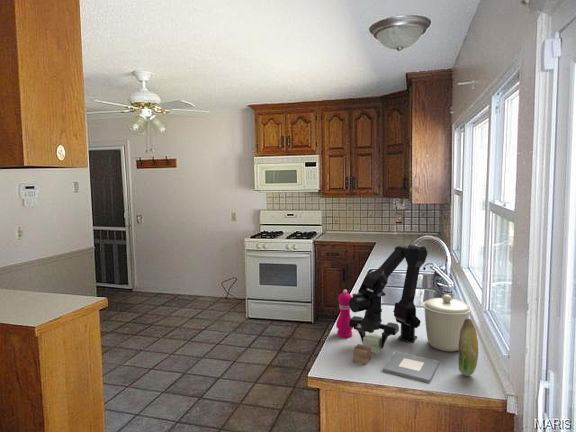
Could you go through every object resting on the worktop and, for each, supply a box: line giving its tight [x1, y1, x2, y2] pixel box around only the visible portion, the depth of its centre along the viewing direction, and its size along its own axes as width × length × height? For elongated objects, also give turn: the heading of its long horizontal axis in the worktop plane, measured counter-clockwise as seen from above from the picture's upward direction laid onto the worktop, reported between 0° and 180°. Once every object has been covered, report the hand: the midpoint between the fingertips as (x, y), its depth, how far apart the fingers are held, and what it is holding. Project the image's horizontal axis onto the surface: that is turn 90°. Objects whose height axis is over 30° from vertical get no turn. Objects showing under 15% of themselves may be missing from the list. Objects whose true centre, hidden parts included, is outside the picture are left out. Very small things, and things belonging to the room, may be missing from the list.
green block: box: [362, 332, 382, 354], centre depth 160 cm, size 6×6×5 cm
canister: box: [422, 294, 473, 352], centre depth 162 cm, size 18×18×21 cm
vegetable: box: [457, 317, 479, 377], centre depth 137 cm, size 6×6×20 cm
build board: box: [381, 351, 441, 384], centre depth 145 cm, size 16×16×1 cm
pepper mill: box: [335, 289, 354, 339], centre depth 173 cm, size 7×7×20 cm
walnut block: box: [352, 343, 372, 366], centre depth 150 cm, size 5×5×5 cm
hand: (373, 346), depth 160 cm, fingers open, 7 cm apart
